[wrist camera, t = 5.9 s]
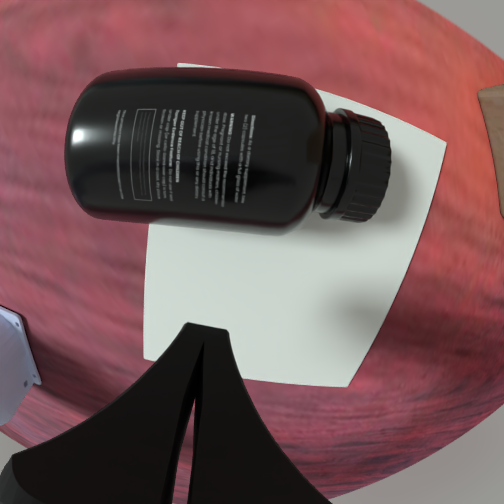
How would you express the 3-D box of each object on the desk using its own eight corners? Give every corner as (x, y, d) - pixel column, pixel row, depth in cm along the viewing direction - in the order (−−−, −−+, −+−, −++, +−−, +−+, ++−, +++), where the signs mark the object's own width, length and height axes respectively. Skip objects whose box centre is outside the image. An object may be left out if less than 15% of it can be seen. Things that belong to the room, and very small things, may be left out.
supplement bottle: (111, 231, 14) (339, 258, 15) (37, 193, 7) (413, 235, 8) (139, 118, 15) (342, 140, 16) (100, 40, 8) (395, 68, 9)
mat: (345, 383, 22) (347, 387, 22) (145, 355, 20) (143, 358, 20) (443, 142, 15) (446, 142, 14) (179, 64, 13) (178, 62, 13)
